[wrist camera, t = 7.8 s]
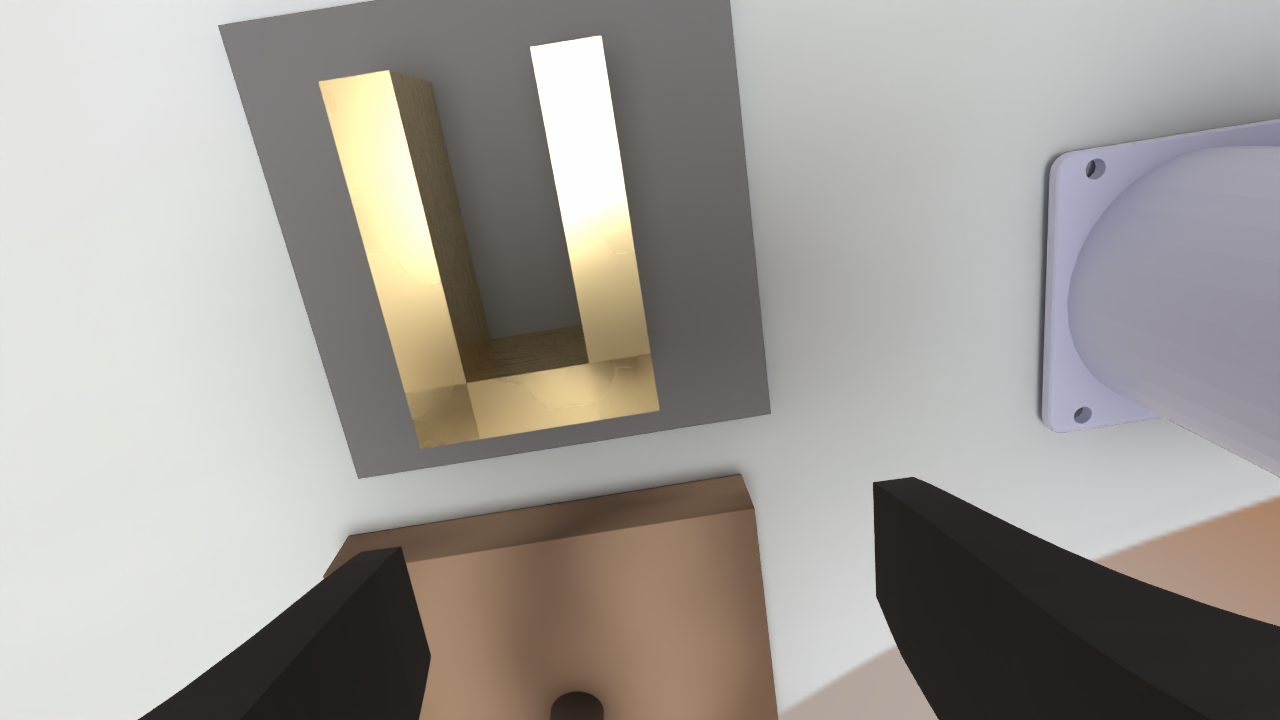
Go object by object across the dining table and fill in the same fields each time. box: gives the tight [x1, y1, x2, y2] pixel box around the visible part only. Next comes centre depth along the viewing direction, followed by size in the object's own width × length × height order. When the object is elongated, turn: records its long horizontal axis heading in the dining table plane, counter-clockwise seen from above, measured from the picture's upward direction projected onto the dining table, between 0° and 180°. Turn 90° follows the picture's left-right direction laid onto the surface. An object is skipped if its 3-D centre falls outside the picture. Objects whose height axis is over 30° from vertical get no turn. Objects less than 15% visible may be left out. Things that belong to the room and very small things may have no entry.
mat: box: [218, 0, 771, 479], centre depth 19 cm, size 12×12×1 cm
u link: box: [319, 36, 660, 449], centre depth 17 cm, size 8×6×4 cm
